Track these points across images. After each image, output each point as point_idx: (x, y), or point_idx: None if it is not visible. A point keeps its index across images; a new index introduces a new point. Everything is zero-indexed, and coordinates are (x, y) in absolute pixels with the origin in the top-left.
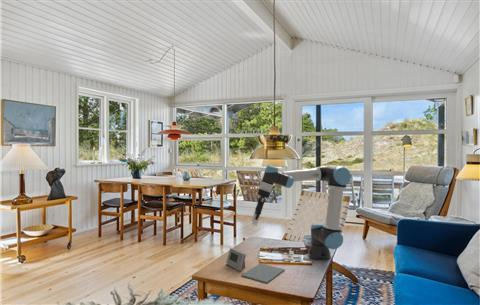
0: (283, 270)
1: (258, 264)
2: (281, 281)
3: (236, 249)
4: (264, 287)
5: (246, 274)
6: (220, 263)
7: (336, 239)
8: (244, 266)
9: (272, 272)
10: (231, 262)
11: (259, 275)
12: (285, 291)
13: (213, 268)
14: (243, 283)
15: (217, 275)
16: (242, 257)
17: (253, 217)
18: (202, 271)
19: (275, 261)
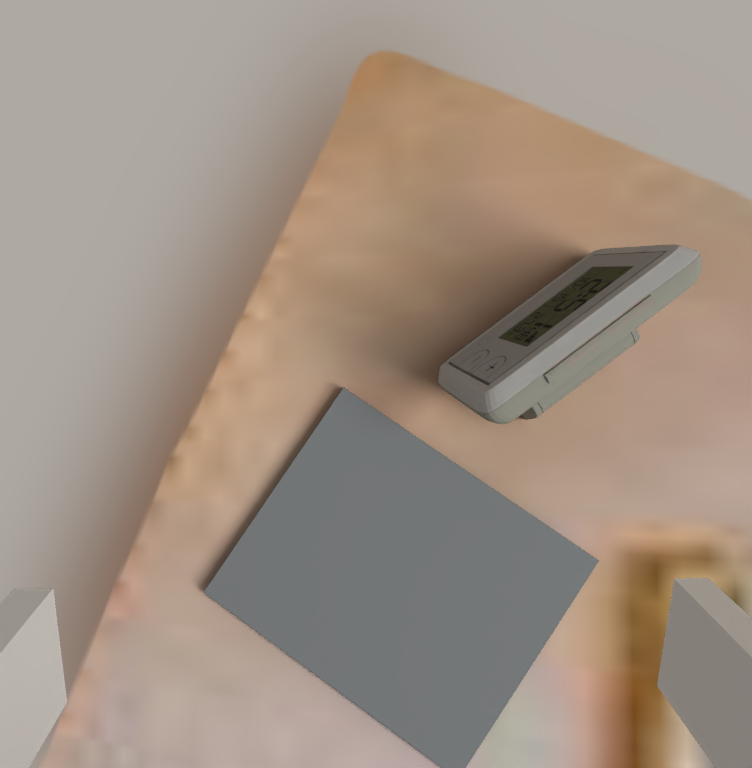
0: (439, 763)
1: (569, 543)
2: (239, 711)
3: (627, 316)
4: (143, 563)
5: (351, 430)
6: (614, 204)
7: None
8: (522, 414)
9: (387, 657)
10: (547, 293)
11: (328, 538)
12: (71, 717)
13: (503, 157)
14: (215, 406)
15: (363, 202)
16: (470, 389)
17: (748, 679)
18: (442, 79)
19: (676, 714)
